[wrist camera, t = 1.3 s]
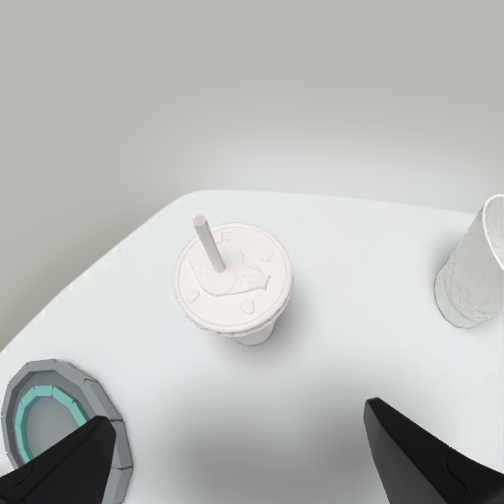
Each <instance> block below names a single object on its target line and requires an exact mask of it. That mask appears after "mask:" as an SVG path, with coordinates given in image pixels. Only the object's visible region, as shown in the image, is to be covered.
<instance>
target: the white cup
mask: <svg viewBox="0 0 504 504" xmlns="http://www.w3.org/2000/svg"><path fill="white" fill-rule="evenodd" d="M434 292H435V297H436V303H437V306H438V307H439V309H440V311H441V312H442V314H443V316H444V318H445V319H447V320H448V321H449V322H451V323H452V324H453V325H455V326H456V327H462V328H471V327H473V326H475V325H477V324H479V323H481V322H484V321H486V320H490V319H492V318H494V317H497V316H499V315H501V314H503V313H504V195H503V194H496V195H493V196H491V197H490V198H488V199H487V201H486V202H485V204H484V205H483V207H482V209H481V210H480V212H479V213H478V215H477V216H476V218H475V220H474V221H473V223H472V224H471V226H470V227H469V228H468V230H467V232H466V233H465V234H464V236H463V237H462V239H461V240H460V242H459V243H458V244H457V246H456V247H455V249H454V251H453V252H452V253H451V255H450V257H449V259H448V261H447V262H446V264H445V265H444V266H443V268H442V269H441V270H440V271H439V273H438V274H437V276H436V281H435V286H434Z"/></svg>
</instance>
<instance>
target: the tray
mask: <svg viewBox="0 0 504 504" xmlns="http://www.w3.org/2000/svg"><path fill="white" fill-rule="evenodd" d="M1 415H2V416H3V417H1V424H2V432H3V438H4V444H5V450H6V452H8V453H7V456H8V458H9V460H10V462H11V464H12V466H13V468H14V470H16V469H18V468H19V467H21V466H23V465H24V464H26V463H27V462H29V461H30V460H32V459H34V458H35V457H37V456H38V455H40V454H41V453H43V452H44V451H46V450H47V449H48V448H50V447H51V446H53V445H54V444H56V443H57V442H59V441H60V440H62V439H63V438H65V437H66V436H67V435H69V434H70V433H72V432H73V431H75V430H76V429H78V428H79V427H80V426H82V425H83V424H85V423H86V422H87V421H89V420H90V419H92V418H93V417H94V416H96V415H103V416H107V417H108V418H109V420H110V422H111V423H112V425H113V427H114V428H115V430H116V434H117V436H116V442H115V448H114V454H113V460H112V466H111V470H110V474H109V478H108V482H107V486H106V489H105V493H104V497H103V501H102V504H121V503H122V502H123V500H124V497H125V493H126V490H127V486H128V483H129V480H130V476H131V473H132V470H133V467H131V465H133V463H132V458H131V454H130V450H129V445H128V440H127V436H126V430H125V425H124V422H121V420H122V417H121V416H120V414H119V413H118V412H117V410H116V409H115V407H114V406H113V404H112V403H111V401H110V400H109V398H108V396H107V395H106V393H105V392H104V390H103V389H102V387H101V385H100V384H99V383H97V381H96V380H94V379H93V378H91V377H89V376H88V375H86V374H84V373H83V372H81V371H79V370H78V369H76V368H75V367H73V366H71V365H70V364H68V363H65V362H62V361H59V360H56V359H49V360H40V361H31V362H28V363H26V364H25V365H24V366H23V367H22V368H21V369H20V370H19V371H18V373H17V374H16V375H15V376H14V377H13V378H12V379H11V380H10V381H9V384H8V386H7V389H6V393H5V397H4V402H3V406H2V411H1Z"/></svg>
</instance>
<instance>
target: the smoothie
mask: <svg viewBox="0 0 504 504" xmlns="http://www.w3.org/2000/svg"><path fill="white" fill-rule="evenodd" d="M192 222H193V225H194V227H195V229H196V231H197V233H198V235H197V236H196V237H195V238H194V239H192V240H191V241H190V242H189V243H188V244H187V246H186V247H185V248H184V249H183V251H182V252H181V254H180V256H179V258H178V260H177V262H176V265H175V269H174V273H173V289H174V294H175V297H176V300H177V302H178V304H179V306H180V307H181V309H182V310H183V312H184V313H185V314H186V316H187V317H188V318H189V319H190V320H191V321H192V322H193V323H194V324H195V325H196V326H197V327H198V328H200V329H202V330H204V331H206V332H208V333H210V334H212V335H217V336H222V337H229V338H231V339H233V340H235V341H237V342H239V343H241V344H243V345H248V346H253V345H258V344H260V343H262V342H264V341H265V340H266V339H267V338H268V337H269V336H270V334H271V333H272V330H273V328H274V325H275V322H276V319H277V317H278V316H279V315H280V314H281V313H282V312H283V310H284V309H285V307H286V305H287V303H288V301H289V299H290V297H291V294H292V287H293V281H294V280H293V272H292V265H291V260H290V257H289V254H288V252H287V250H286V248H285V247H284V245H283V244H282V243H281V241H280V240H279V239H278V238H277V237H276V236H275V235H273V234H272V233H271V232H269V231H267V230H266V229H264V228H262V227H259V226H256V225H253V224H249V223H241V222H233V223H225V224H221V225H217V226H214V227H212V228H210V227H209V225H208V222H207V220H206V217H205V216H204V215H197V216H195V217H194V218H193V220H192Z"/></svg>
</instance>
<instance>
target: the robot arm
mask: <svg viewBox="0 0 504 504" xmlns="http://www.w3.org/2000/svg"><path fill="white" fill-rule="evenodd" d="M364 424H365V428H366V432H367V436H368V440H369V444H370V448H371V452H372V456H373V459H374V462H375V465H376V468H377V470H378V473H379V476H380V478H381V481H382V483H383V486H384V489H385V492H386V494H387V497H388V500H389V502H390V504H504V474H502V473H500V472H498V471H495V470H493V469H491V468H488V467H486V466H484V465H482V464H480V463H478V462H476V461H474V460H472V459H470V458H468V457H466V456H464V455H463V454H461V453H459V452H458V451H456V450H455V449H453V448H452V447H449V446H448V445H447V444H445V443H444V442H442V441H441V440H439V439H438V438H436V437H435V436H433V435H432V434H430V433H429V432H427V431H426V430H425V429H423V428H422V427H420V426H419V425H417V424H416V423H414V422H413V421H411V420H410V419H409V418H407V417H406V416H404V415H403V414H401V413H400V412H398V411H397V410H396V409H394V408H393V407H391V406H390V405H389V404H387V403H386V402H384V401H383V400H382V399H380V398H378V397H375V398H371V399H368V400H366V402H365V409H364ZM116 436H117V434H116V430H115V428H114V427H113V425H112V423H111V422H110V420H109V418H108V417H107V416H103V415H96V416H94V417H93V418H92V419H90V420H89V421H87V422H86V423H85V424H83V425H82V426H80V427H79V428H78V429H76V430H75V431H73V432H72V433H70V434H69V435H67V436H66V437H65V438H63V439H62V440H60V441H59V442H57V443H56V444H54V445H53V446H51V447H50V448H48V449H47V450H46V451H44V452H43V453H41V454H40V455H38V456H37V457H35V458H34V459H32V460H30V461H29V462H27V463H26V464H24V465H23V466H21V467H19V468H18V469H16V470H14V471H12V472H10V473H8V474H6V475H4V476H2V477H0V504H102V501H103V497H104V493H105V489H106V486H107V482H108V478H109V474H110V470H111V466H112V460H113V454H114V448H115V442H116Z"/></svg>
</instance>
